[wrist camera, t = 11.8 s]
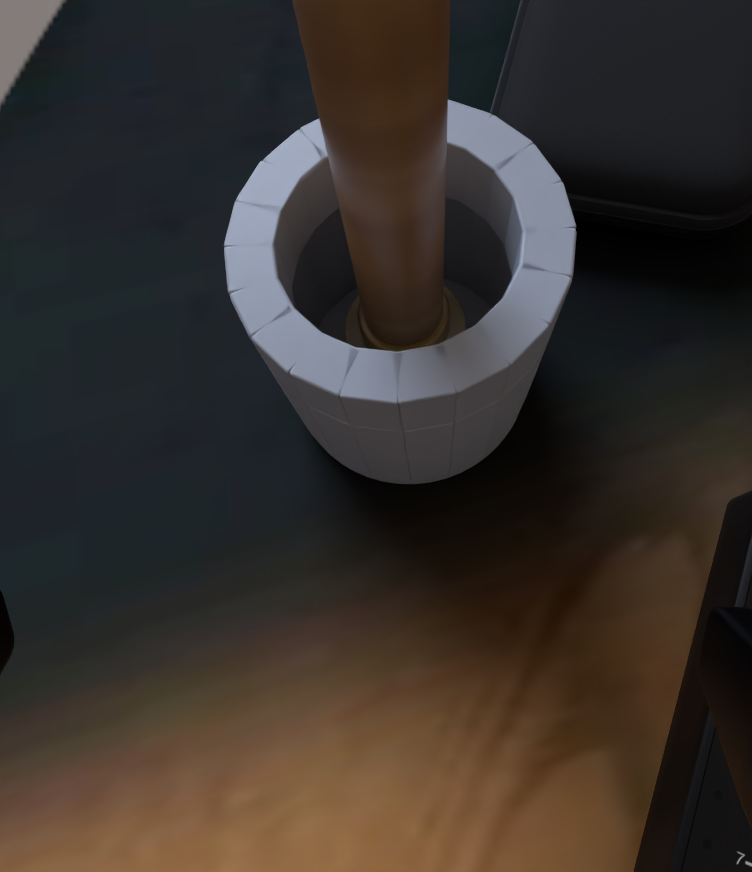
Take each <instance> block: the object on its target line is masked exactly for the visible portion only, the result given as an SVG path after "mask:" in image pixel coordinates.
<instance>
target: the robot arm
mask: <svg viewBox="0 0 752 872" xmlns="http://www.w3.org/2000/svg"><path fill="white" fill-rule="evenodd" d="M13 648H14V633H13V629H12V625H11V622H10V618H9V615H8V611H7V608H6V604H5V601H4V597H3V594H2V592H1V591H0V675H1V673H2V671H3V669H4V667H5V666H6V664H7V662H8V660H9V658H10V656H11V654H12V651H13ZM698 669H699V677H700V682H701V685H702V688H703V691H704V694H705V697H706V700H707V703H708V706H709V709H710V712H711V715H712V718H713V721H714V724H715V727H716V730H717V733H718V736H719V739H720V742H721V745H722V748H723V751H724V754H725V757H726V760H727V763H728V766H729V769H730V772H731V775H732V778H733V781H734V784H735V787H736V790H737V793H738V795H739V798H740V801H741V804H742V807H743V809H744V812H745V814H746V816H747V819H748V821H749V823H750V826H751V828H752V608H748V607H728V606H717V607H715V608H713V609H712V610H711V611H710V612H709V614H708V617H707V622H706V627H705V632H704V637H703V642H702V647H701V652H700V657H699V667H698Z"/></svg>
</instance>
